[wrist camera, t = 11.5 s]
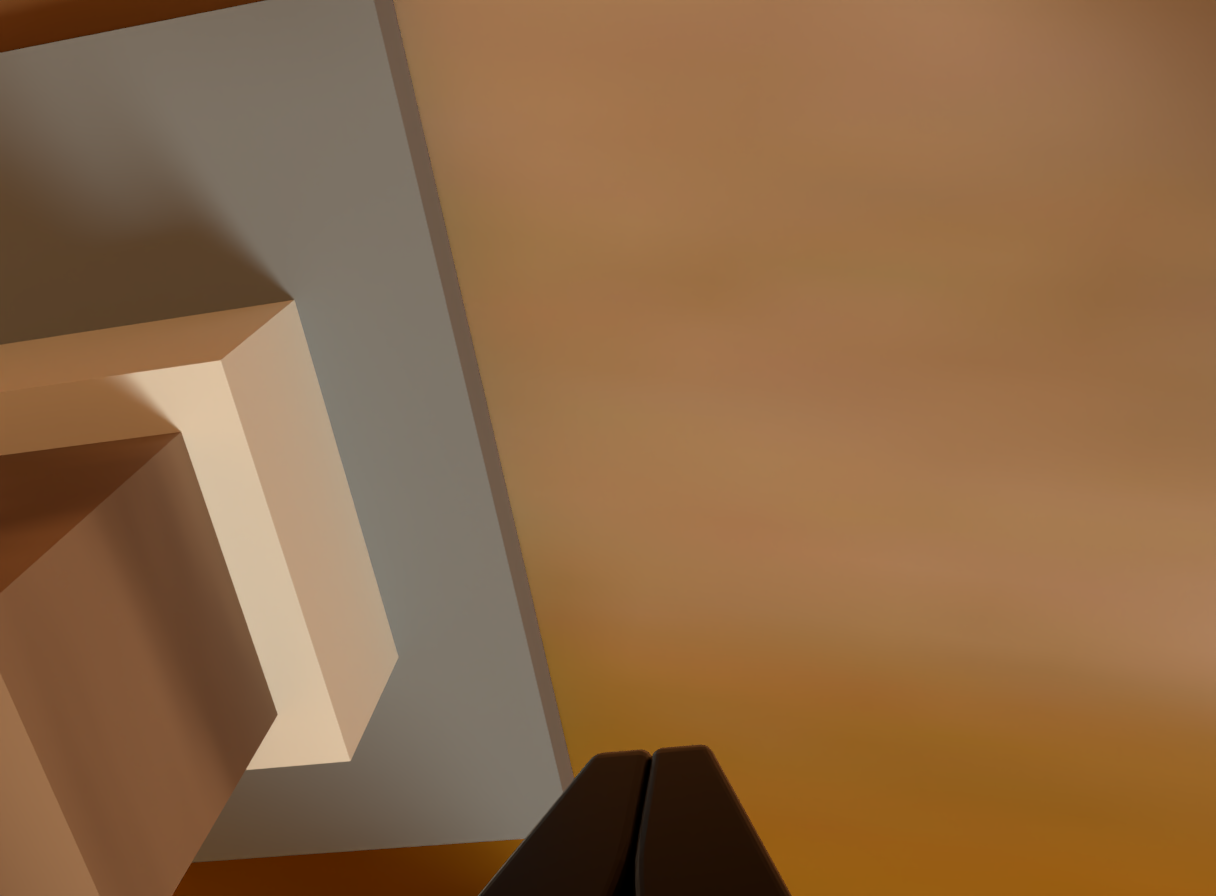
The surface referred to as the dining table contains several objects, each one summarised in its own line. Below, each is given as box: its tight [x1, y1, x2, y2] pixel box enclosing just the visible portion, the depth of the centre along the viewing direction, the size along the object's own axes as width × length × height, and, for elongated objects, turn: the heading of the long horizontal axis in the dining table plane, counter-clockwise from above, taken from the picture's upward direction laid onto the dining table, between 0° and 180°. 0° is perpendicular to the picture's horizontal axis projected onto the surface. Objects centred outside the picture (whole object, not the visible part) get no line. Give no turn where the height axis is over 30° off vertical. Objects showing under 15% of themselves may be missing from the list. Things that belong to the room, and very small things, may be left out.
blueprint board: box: [0, 0, 574, 863], centre depth 20 cm, size 12×16×4 cm
